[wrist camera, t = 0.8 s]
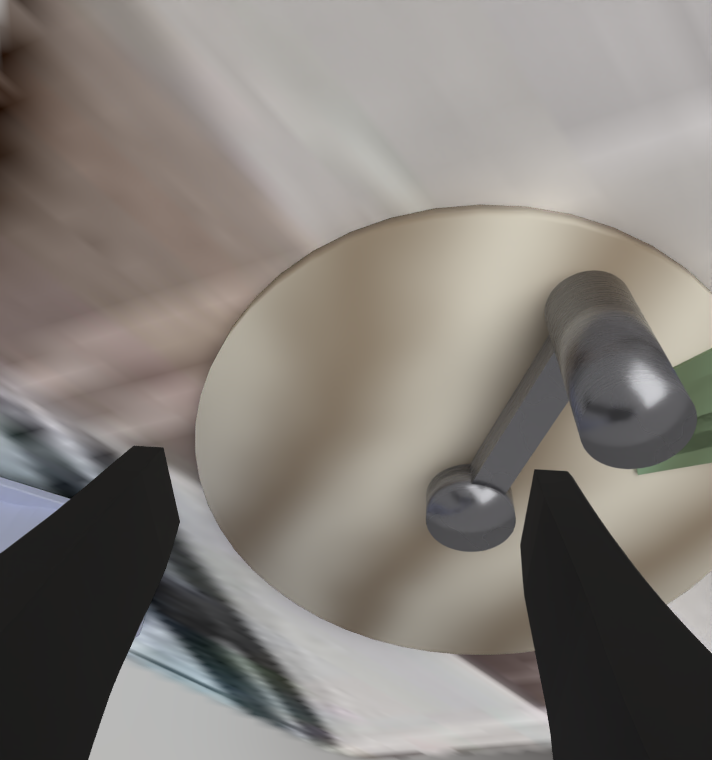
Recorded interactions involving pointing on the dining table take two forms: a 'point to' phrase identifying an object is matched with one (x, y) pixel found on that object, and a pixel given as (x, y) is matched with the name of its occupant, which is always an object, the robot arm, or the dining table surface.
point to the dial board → (434, 420)
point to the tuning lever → (588, 403)
